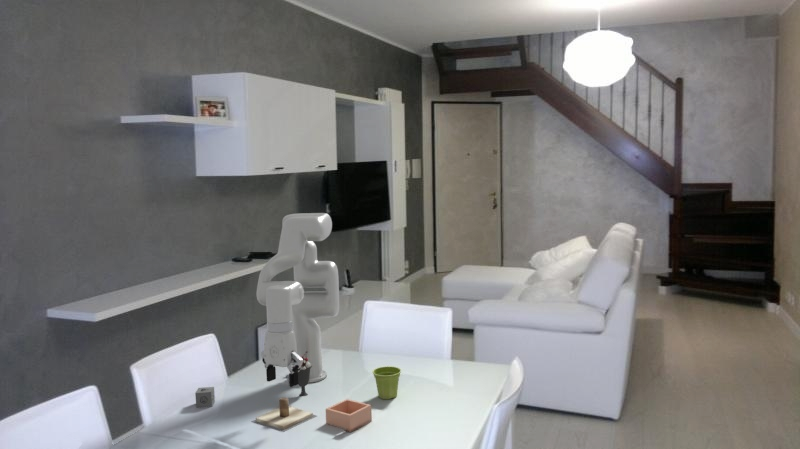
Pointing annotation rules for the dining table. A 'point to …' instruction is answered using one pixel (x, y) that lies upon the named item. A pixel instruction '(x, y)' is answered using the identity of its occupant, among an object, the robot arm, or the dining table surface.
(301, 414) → the wooden lid with knob
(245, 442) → the dining table surface
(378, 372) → the plant pot
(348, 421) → the salmon pink open box
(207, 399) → the dice cube
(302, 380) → the sundae
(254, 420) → the mat
